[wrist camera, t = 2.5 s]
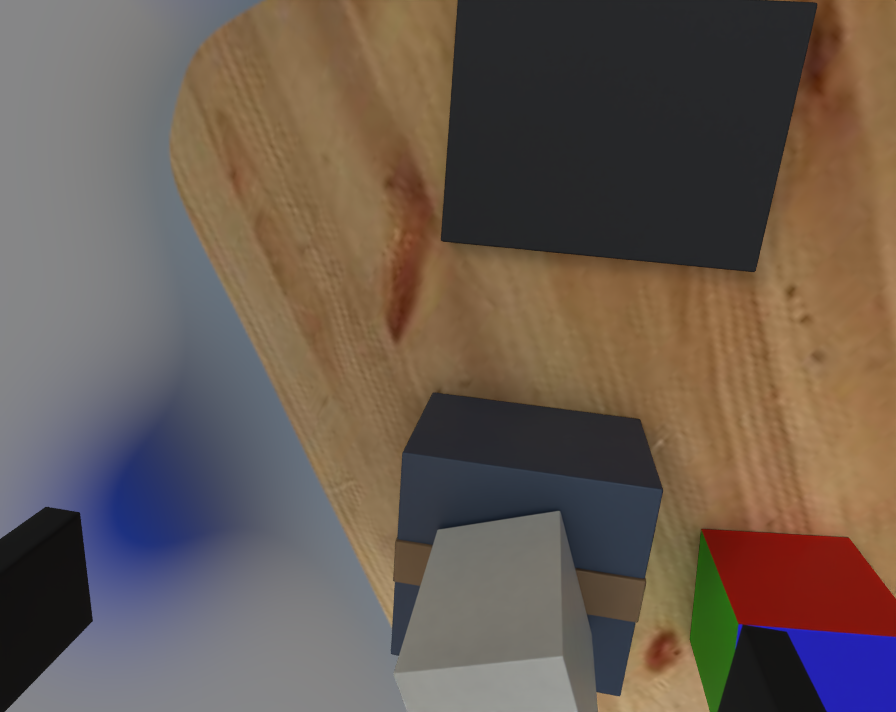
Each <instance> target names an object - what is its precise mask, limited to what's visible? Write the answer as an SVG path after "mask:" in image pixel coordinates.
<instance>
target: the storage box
mask: <svg viewBox="0 0 896 712" xmlns="http://www.w3.org/2000/svg"><path fill="white" fill-rule="evenodd" d="M662 493H663V488H662V485H661V482H660V479H659V476H658V473H657V470H656V467H655V464H654V461H653V458H652V455H651V452H650V448H649V445H648V442H647V439H646V436H645V433H644V430H643V427H642V424H641V421H640V419H634V418H626V417H619V416H611V415H603V414H596V413H588V412H580V411H572V410H565V409H557V408H549V407H541V406H534V405H526V404H518V403H511V402H503V401H495V400H487V399H480V398H472V397H464V396H456V395H449V394H441V393H432V395H431V397H430V399H429V401H428V403H427V405H426V407H425V409H424V411H423V413H422V415H421V417H420V419H419V421H418V423H417V425H416V427H415V429H414V431H413V433H412V435H411V437H410V439H409V441H408V443H407V445H406V447H405V449H404V451H403V453H402V468H401V486H400V503H399V521H398V537H397V539H396V542H395V559H394V577H393V581H394V582H395V590H394V608H393V625H392V643H391V654H393V655H398V656H399V654H400V651H401V648H402V644H403V641H404V638H405V635H406V631H407V628H408V625H409V622H410V618H411V615H412V612H413V608H414V605H415V602H416V599H417V595H418V592H419V589H420V586H421V582H422V579H423V576H424V573H425V569H426V566H427V563H428V560H429V556H430V553H431V550H432V547H433V543H434V540H435V537H436V533H437V530H439V529H446V528H452V527H459V526H465V525H471V524H478V523H484V522H491V521H497V520H503V519H510V518H516V517H523V516H529V515H535V514H542V513H548V512H555V511H560V512H561V516H562V520H563V523H564V527H565V531H566V535H567V539H568V543H569V547H570V551H571V555H572V559H573V563H574V566H575V570H576V574H577V578H578V582H579V586H580V590H581V594H582V598H583V602H584V606H585V610H586V613H587V617H588V621H589V625H590V629H591V633H592V644H593V656H594V669H595V681H596V692H599V693H604V694H610V695H615V696H620V695H621V690H622V685H623V680H624V676H625V671H626V666H627V661H628V656H629V652H630V647H631V642H632V637H633V632H634V628H635V623H637V622H638V619H639V614H640V610H641V605H642V600H643V595H644V590H645V586H646V579H645V575H646V570H647V565H648V560H649V556H650V551H651V546H652V541H653V536H654V532H655V527H656V522H657V517H658V512H659V508H660V503H661V498H662Z"/></svg>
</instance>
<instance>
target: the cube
mask: <svg viewBox="0 0 896 712" xmlns="http://www.w3.org/2000/svg"><path fill="white" fill-rule="evenodd" d="M743 624H744V625H750V626H756V627H762V628H768V629H773V630H779V631H785V632H787V633H788V635H789V637H790V639H791V641H792V643H793V645H794V647H795V649H796V651H797V653H798V655H799V657H800V659H801V661H802V663H803V665H804V667H805V669H806V671H807V673H808V675H809V677H810V679H811V681H812V683H813V685H814V687H815V689H816V691H817V693H818V695H819V697H820V699H821V701H822V703H823V705H824V707H825V709H826V711H827V712H896V599H895V597H894V596H893V595H892V593H891V592H890V591H889V589H888V588H887V587H886V586H885V584H884V583H883V582H882V580H881V579H880V578H879V576H878V575H877V574H876V573H875V571H874V570H873V569H872V567H871V566H870V565H869V563H868V562H867V561H866V560H865V558H864V557H863V556H862V554H861V553H860V552H859V550H858V549H857V548H856V546H855V545H854V544H853V543H852V541H851V540H850V539H849V538H846V537H829V536H812V535H795V534H778V533H761V532H744V531H727V530H710V529H701V536H700V546H699V555H698V565H697V575H696V584H695V594H694V604H693V614H692V623H691V633H690V642H691V646H692V649H693V653H694V656H695V660H696V664H697V667H698V671H699V674H700V678H701V681H702V685H703V689H704V692H705V696H706V699H707V703H708V707H709V710H710V712H718V708H719V705H720V701H721V698H722V694H723V691H724V687H725V684H726V680H727V677H728V674H729V670H730V667H731V663H732V660H733V656H734V653H735V649H736V646H737V642H738V639H739V635H740V632H741V628H742V625H743Z"/></svg>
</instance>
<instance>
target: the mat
mask: <svg viewBox="0 0 896 712" xmlns="http://www.w3.org/2000/svg"><path fill="white" fill-rule="evenodd" d="M816 9H817V3H813V2H791V1H770V0H458V6H457V20H456V34H455V48H454V62H453V76H452V91H451V105H450V119H449V133H448V147H447V161H446V176H445V190H444V204H443V218H442V232H441V241H443V242H454V243H464V244H474V245H484V246H494V247H504V248H515V249H525V250H535V251H545V252H555V253H565V254H576V255H586V256H596V257H606V258H616V259H626V260H636V261H647V262H657V263H667V264H677V265H687V266H697V267H708V268H718V269H728V270H738V271H748V272H755V271H756V267H757V263H758V259H759V254H760V250H761V246H762V241H763V237H764V233H765V228H766V224H767V220H768V216H769V211H770V207H771V203H772V198H773V194H774V190H775V185H776V181H777V177H778V172H779V168H780V164H781V160H782V155H783V151H784V147H785V142H786V138H787V134H788V129H789V125H790V121H791V116H792V112H793V108H794V104H795V99H796V95H797V91H798V86H799V82H800V78H801V73H802V69H803V65H804V60H805V56H806V52H807V48H808V43H809V39H810V35H811V30H812V26H813V22H814V17H815V13H816Z"/></svg>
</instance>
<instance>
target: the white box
mask: <svg viewBox="0 0 896 712" xmlns="http://www.w3.org/2000/svg"><path fill="white" fill-rule="evenodd" d="M394 677H395V680H396V683H397V685H398V688H399V691H400V694H401V697H402V699H403V702H404V705H405V708H406V710H407V712H598V706H597V694H596V681H595V669H594V656H593V644H592V633H591V629H590V625H589V621H588V617H587V613H586V610H585V606H584V602H583V598H582V594H581V590H580V586H579V582H578V578H577V574H576V570H575V566H574V563H573V559H572V555H571V551H570V547H569V543H568V539H567V535H566V531H565V527H564V523H563V520H562V516H561V512H560V511H555V512H548V513H542V514H535V515H529V516H523V517H516V518H510V519H503V520H497V521H491V522H484V523H478V524H471V525H465V526H459V527H452V528H446V529H439V530H437V533H436V537H435V540H434V543H433V547H432V550H431V553H430V556H429V560H428V563H427V566H426V569H425V573H424V576H423V579H422V582H421V586H420V589H419V592H418V595H417V599H416V602H415V605H414V608H413V612H412V615H411V618H410V622H409V625H408V628H407V631H406V635H405V638H404V641H403V644H402V648H401V651H400V654H399V657H398V661H397V664H396V667H395V671H394Z"/></svg>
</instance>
